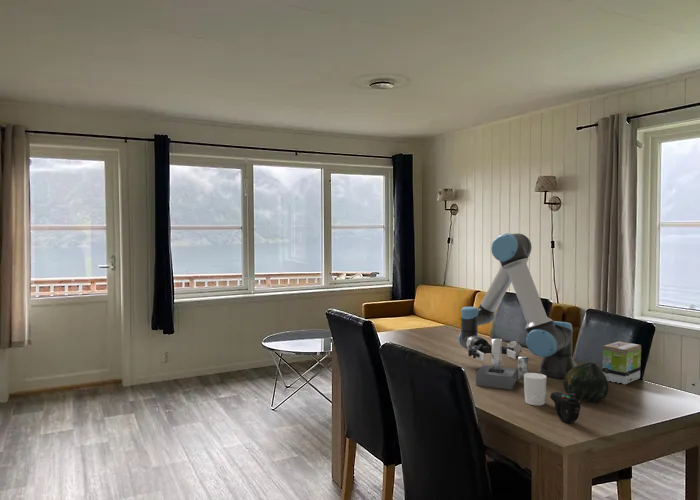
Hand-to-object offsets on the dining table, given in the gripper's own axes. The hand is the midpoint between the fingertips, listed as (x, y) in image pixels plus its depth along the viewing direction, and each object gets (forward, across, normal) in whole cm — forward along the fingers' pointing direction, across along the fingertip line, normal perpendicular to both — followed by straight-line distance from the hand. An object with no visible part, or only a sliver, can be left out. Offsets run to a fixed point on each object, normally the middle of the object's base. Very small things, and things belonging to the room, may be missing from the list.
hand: (499, 356), depth 216 cm
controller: (+42, -3, -12) cm, 44 cm away
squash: (+23, -23, -12) cm, 35 cm away
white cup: (+23, -2, -12) cm, 26 cm away
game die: (-44, -29, -12) cm, 54 cm away
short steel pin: (-7, -14, -12) cm, 19 cm away
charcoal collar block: (-3, 0, -12) cm, 12 cm away
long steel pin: (-3, 0, -12) cm, 12 cm away
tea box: (+2, -54, -12) cm, 55 cm away
